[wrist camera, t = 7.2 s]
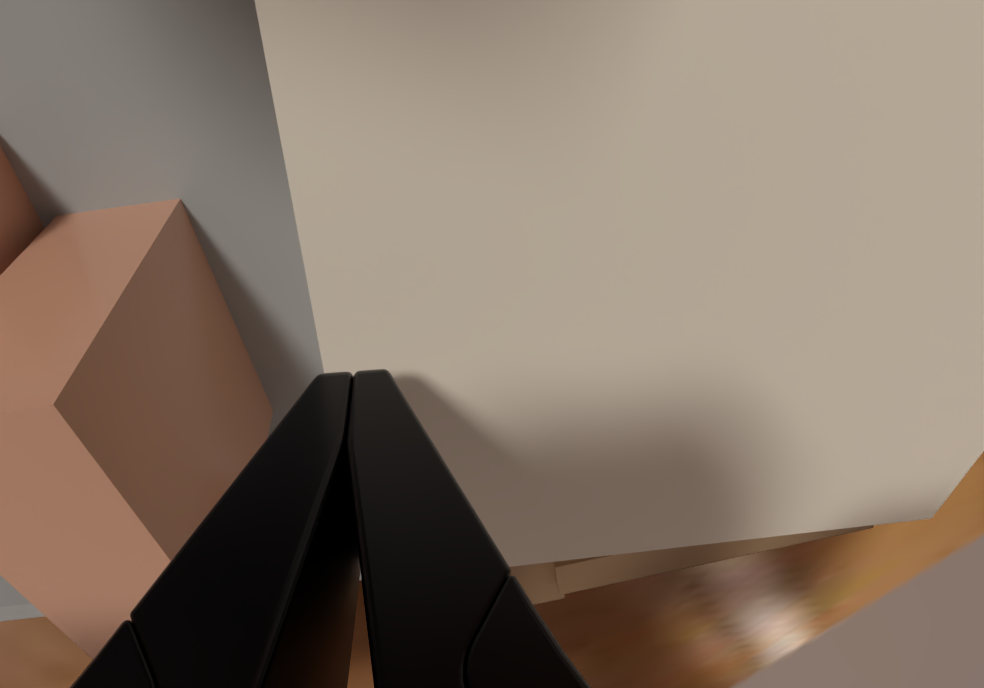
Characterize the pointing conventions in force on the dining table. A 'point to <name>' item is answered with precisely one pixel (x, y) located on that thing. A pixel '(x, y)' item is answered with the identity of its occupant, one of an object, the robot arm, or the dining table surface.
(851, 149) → the white flat box
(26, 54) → the tray
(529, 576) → the wooden spatula
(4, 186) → the tile
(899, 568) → the dining table surface
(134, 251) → the tile
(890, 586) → the dining table surface
